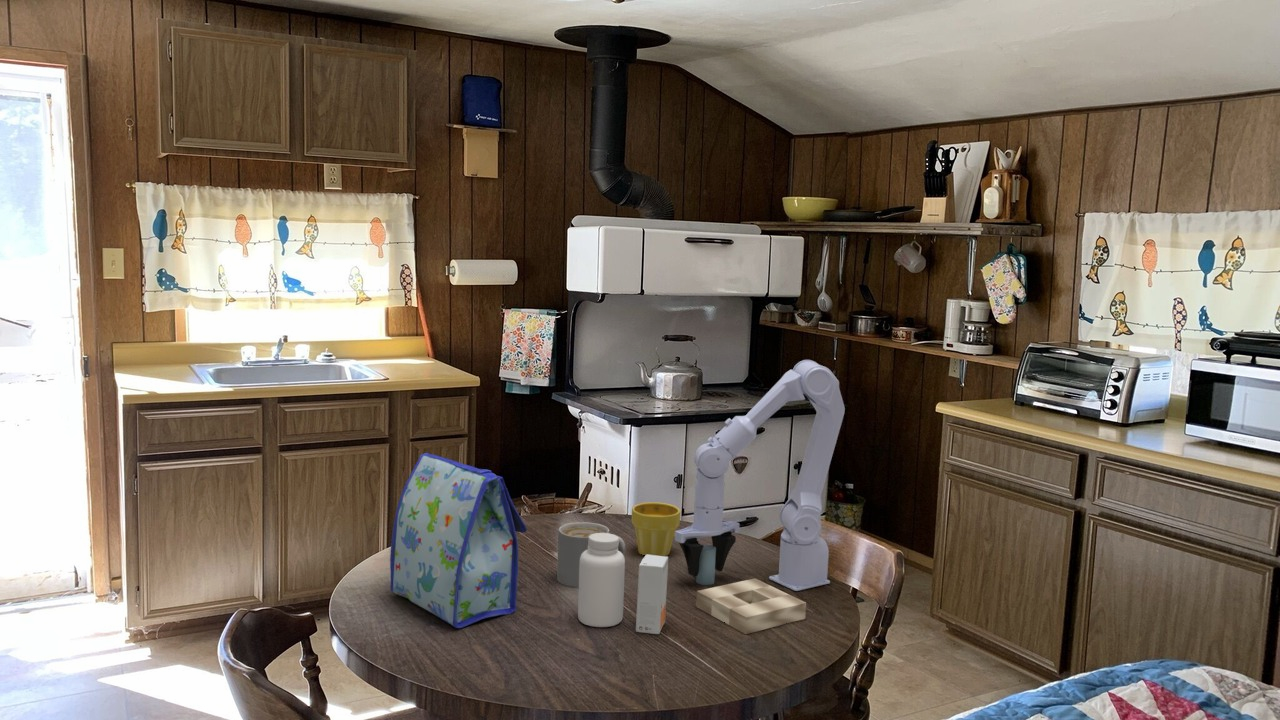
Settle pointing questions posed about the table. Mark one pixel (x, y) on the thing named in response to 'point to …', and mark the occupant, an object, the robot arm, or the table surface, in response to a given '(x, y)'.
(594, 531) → the coffee mug
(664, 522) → the plant pot
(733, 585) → the socket block
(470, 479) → the lunch bag
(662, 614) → the skincare box
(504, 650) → the table surface
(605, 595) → the pill bottle
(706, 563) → the peg
